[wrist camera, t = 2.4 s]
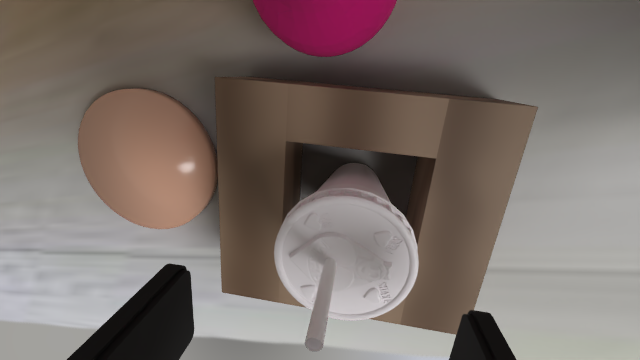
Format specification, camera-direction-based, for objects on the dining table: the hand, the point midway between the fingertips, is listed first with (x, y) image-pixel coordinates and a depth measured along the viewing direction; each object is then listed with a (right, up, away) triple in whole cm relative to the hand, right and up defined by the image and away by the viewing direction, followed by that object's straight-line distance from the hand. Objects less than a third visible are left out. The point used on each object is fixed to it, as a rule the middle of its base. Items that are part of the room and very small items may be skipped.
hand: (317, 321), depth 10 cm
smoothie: (+3, +4, +12) cm, 13 cm away
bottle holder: (+3, +4, +12) cm, 13 cm away
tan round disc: (-13, +6, +14) cm, 20 cm away
